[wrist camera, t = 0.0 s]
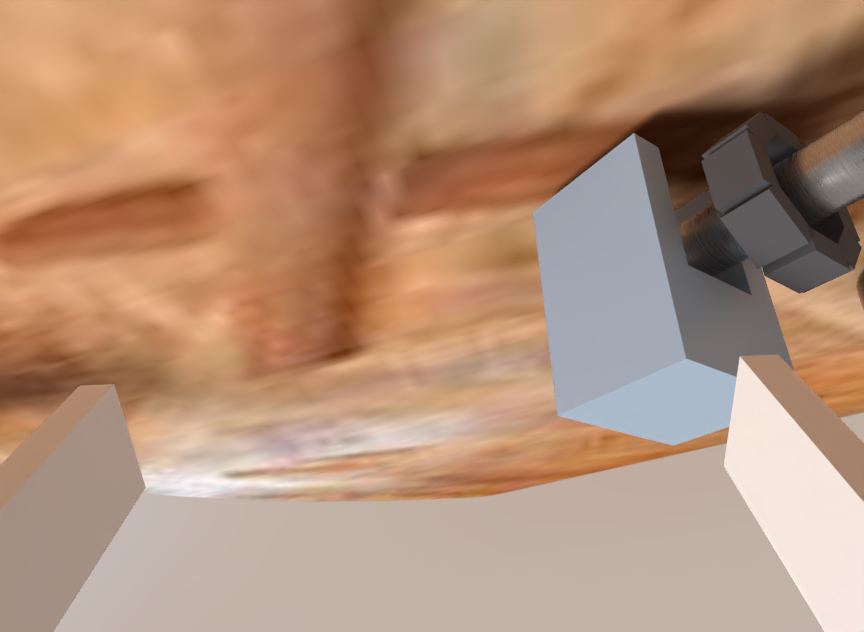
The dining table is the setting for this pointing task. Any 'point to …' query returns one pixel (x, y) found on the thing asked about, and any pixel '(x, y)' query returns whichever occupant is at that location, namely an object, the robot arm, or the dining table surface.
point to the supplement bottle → (861, 287)
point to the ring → (775, 209)
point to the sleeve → (643, 305)
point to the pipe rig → (788, 195)
